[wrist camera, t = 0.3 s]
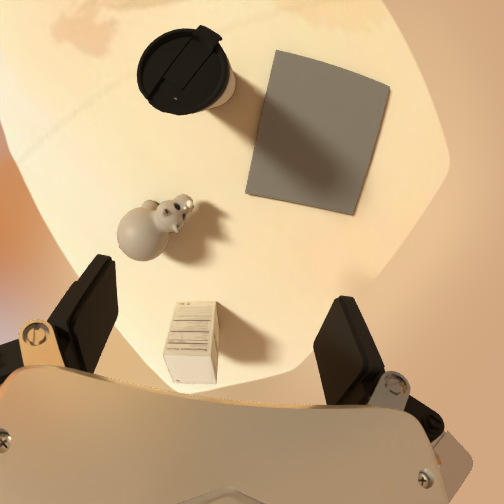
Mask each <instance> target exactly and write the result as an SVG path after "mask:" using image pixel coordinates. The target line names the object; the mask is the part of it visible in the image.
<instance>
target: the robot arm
mask: <svg viewBox="0 0 504 504" xmlns="http://www.w3.org/2000/svg"><path fill="white" fill-rule="evenodd" d="M117 316H118V300H117V287H116V269H115V261H112V259H111V257H110V256H106V255H101V254H98V255H96V257H95V258H94V259H93V261H92V262H91V263H90V265H89V266H88V267H87V269H86V270H85V271H84V273H83V274H82V275H81V277H80V278H79V280H78V281H75V282H74V283H73V284H72V285H71V286H70V288H69V290H68V291H67V292H66V294H65V295H64V297H63V298H62V299H61V301H60V302H59V304H58V305H57V307H56V308H55V310H54V311H53V313H52V314H51V316H50V317H49V319H48V320H47V322H46V321H44V320H39V319H37V320H32V321H29V322H27V323H26V324H24V325H23V327H22V328H21V330H20V332H19V339H17V340H14V341H11V342H8V343H5V344H2V345H0V504H449V502H450V501H451V499H452V498H453V497H454V495H455V494H456V492H457V491H458V490H459V488H460V487H461V485H462V483H463V482H464V481H465V479H466V477H467V476H468V474H469V473H470V471H471V469H472V466H473V460H472V457H471V456H470V454H469V453H468V452H467V451H466V450H465V449H464V448H463V446H461V444H460V443H459V442H458V441H457V440H456V439H455V438H454V437H453V436H452V435H451V434H450V433H449V432H448V431H447V432H446V433H445V432H444V422H443V420H442V418H441V417H440V415H439V414H438V413H436V412H435V411H433V410H432V409H430V408H429V407H427V406H425V405H424V404H423V403H421V402H419V401H418V400H416V399H415V398H413V397H412V396H410V395H409V394H410V385H409V383H408V381H407V379H406V378H405V377H404V376H403V375H401V374H400V373H397V372H394V371H387V372H385V370H384V367H385V366H384V364H383V361H382V359H381V357H380V355H379V352H378V350H377V347H376V345H375V343H374V341H373V338H372V336H371V334H370V332H369V330H368V327H367V325H366V323H365V321H364V319H363V316H362V314H361V312H360V310H359V308H358V306H357V304H356V302H355V299H354V298H353V297H349V296H339V298H336V299H335V300H334V302H333V304H332V306H331V308H330V310H329V312H328V314H327V316H326V318H325V321H324V323H323V325H322V327H321V329H320V331H319V333H318V335H317V337H316V339H315V341H314V345H313V348H314V352H315V357H316V360H317V365H318V369H319V373H320V378H321V382H322V386H323V390H324V395H325V399H326V403H327V405H291V404H270V403H257V402H244V401H234V400H225V399H217V398H209V397H202V396H195V395H189V394H183V393H177V392H171V391H165V390H161V389H156V388H150V387H146V386H141V385H137V384H133V383H128V382H124V381H120V380H116V379H112V378H108V377H104V376H99V375H96V374H93V373H94V371H95V368H96V366H97V363H98V361H99V358H100V356H101V353H102V351H103V349H104V346H105V344H106V342H107V339H108V337H109V335H110V332H111V330H112V328H113V326H114V324H115V321H116V319H117Z"/></svg>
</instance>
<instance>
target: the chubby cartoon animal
mask: <svg viewBox="0 0 504 504" xmlns="http://www.w3.org/2000/svg"><path fill="white" fill-rule="evenodd" d="M193 208H194V205H193V200H192V199H191V197H189V196H188V195H185V194H182V195H179V196H177V197H176V198H175V199H173V200H168V201H164V202H162V203H161V204H159V206H158V204H157V203H156V202H155V201H152V200H148V201H145V202H144V203H143V204H142V206H141V208H136V209H133V210H131V211H129V212H128V213H127V214H126V215H125V216H124V217H123V218H122V219H121V221H120V223H119V226H118V230H117V240H118V243H119V248H120V249H121V250H122V251H123V252H124V253H125V254H126V255H127V256H128V257H130V258H131V259H134V260H137V261H149V260H152V259H154V258H156V257H157V256H159V255H160V254H161V253H162V252H163V251H164V249H165V248H166V246H167V243H168V239H169V233H172V232H176V233H179V230H180V229H181V228H182V227H183V226H184V224H185V220H186V216H187V215H188V214H189V213H190V212H191V211H192V209H193Z"/></svg>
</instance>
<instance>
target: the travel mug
mask: <svg viewBox="0 0 504 504" xmlns="http://www.w3.org/2000/svg"><path fill="white" fill-rule="evenodd" d="M219 40H220V41H221V40H222V37H221V36H220V35H219V34H217V33H215V32H214V31H212V30H211V29H209V28H207V27H205V26H202V25H200V26H199V27H198V28H197V29H184V28H183V29H177V30H172V31H170V32H167V33H164V34H163V35H161V36H159V37H158V38H156V39H155V40H154V41H153V42H152V43H150V45H149V46H148V47H147V48H146V49H145V51H144V53H143V54H142V56H141V58H140V61H139V64H138V69H137V83H138V86H139V90H140V91H141V93H142V94H143V95H144V97H145V98H146V99H147V100H148V102H149V103H150V104H151V105H152V106H153V107H155V108H156V109H158V110H160V111H162V112H166V113H171V114H175V115H188V114H193V113H197V112H200V111H204V110H207V109H210V108H214V107H217V106H220V105H222V104H224V103H226V102H227V101H228V100H229V99H230V98H231V97H232V95H233V94H234V91H235V87H236V80H235V76H234V73H233V70H232V68H231V65H230V62H229V60H228V58H227V56H226V54H225V52H224V50H223V49H222V47H221V46H220V44H219Z"/></svg>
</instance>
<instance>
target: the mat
mask: <svg viewBox="0 0 504 504" xmlns="http://www.w3.org/2000/svg"><path fill="white" fill-rule="evenodd" d="M389 88H390V86H387V85H385V84H383V83H380V82H378V81H375V80H373V79H370V78H368V77H365V76H362V75H360V74H357V73H354V72H352V71H349V70H346V69H343V68H340V67H337V66H334V65H331V64H328V63H324V62H321V61H318V60H314V59H311V58H307V57H303V56H299V55H296V54H292V53H287V52H283V51H279V50H276V52H275V57H274V61H273V65H272V70H271V74H270V79H269V83H268V88H267V92H266V97H265V101H264V106H263V110H262V115H261V119H260V124H259V129H258V133H257V138H256V143H255V147H254V152H253V157H252V162H251V167H250V171H249V176H248V181H247V186H246V191H245V193H246V194H252V195H257V196H263V197H268V198H273V199H279V200H284V201H289V202H294V203H299V204H304V205H309V206H314V207H318V208H323V209H328V210H332V211H337V212H341V213H346V214H350V215H353V212H354V209H355V206H356V203H357V200H358V197H359V194H360V191H361V188H362V185H363V182H364V179H365V175H366V172H367V169H368V166H369V162H370V159H371V156H372V152H373V149H374V145H375V142H376V138H377V135H378V131H379V127H380V124H381V120H382V116H383V112H384V108H385V104H386V100H387V96H388V92H389Z"/></svg>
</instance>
